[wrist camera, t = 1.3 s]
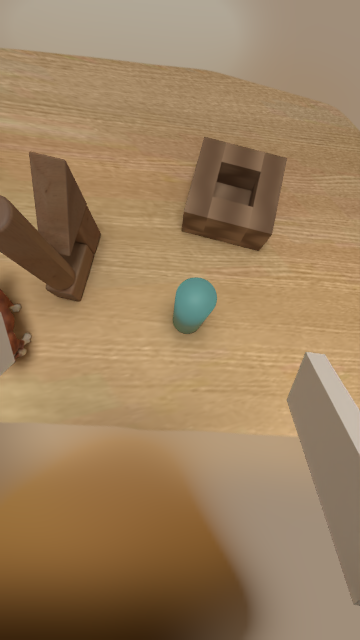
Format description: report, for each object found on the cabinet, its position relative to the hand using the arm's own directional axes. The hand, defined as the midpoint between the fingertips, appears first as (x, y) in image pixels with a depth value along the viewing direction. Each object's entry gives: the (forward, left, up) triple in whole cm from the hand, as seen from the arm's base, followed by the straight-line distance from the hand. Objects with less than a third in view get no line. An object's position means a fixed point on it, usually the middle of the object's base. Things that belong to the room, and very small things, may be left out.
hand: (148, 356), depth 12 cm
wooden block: (-15, +11, -25) cm, 31 cm away
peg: (+2, +7, -25) cm, 26 cm away
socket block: (+4, +26, -25) cm, 36 cm away
